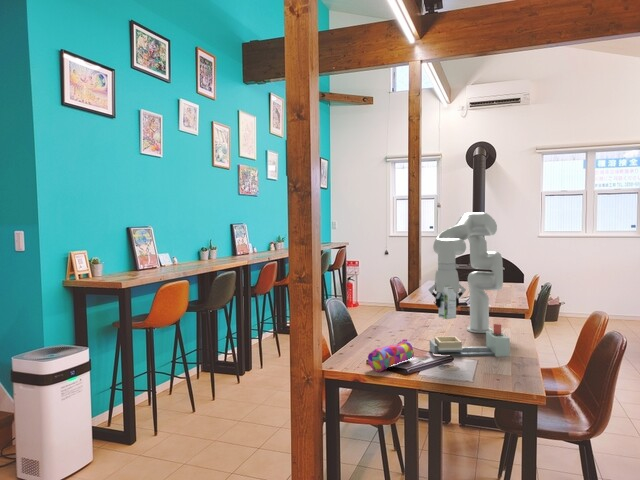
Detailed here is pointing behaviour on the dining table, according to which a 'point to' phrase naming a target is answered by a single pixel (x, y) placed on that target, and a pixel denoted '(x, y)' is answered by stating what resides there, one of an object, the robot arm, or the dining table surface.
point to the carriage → (448, 344)
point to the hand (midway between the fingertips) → (447, 306)
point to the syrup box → (447, 303)
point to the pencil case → (390, 355)
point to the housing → (498, 343)
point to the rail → (464, 351)
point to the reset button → (497, 329)
